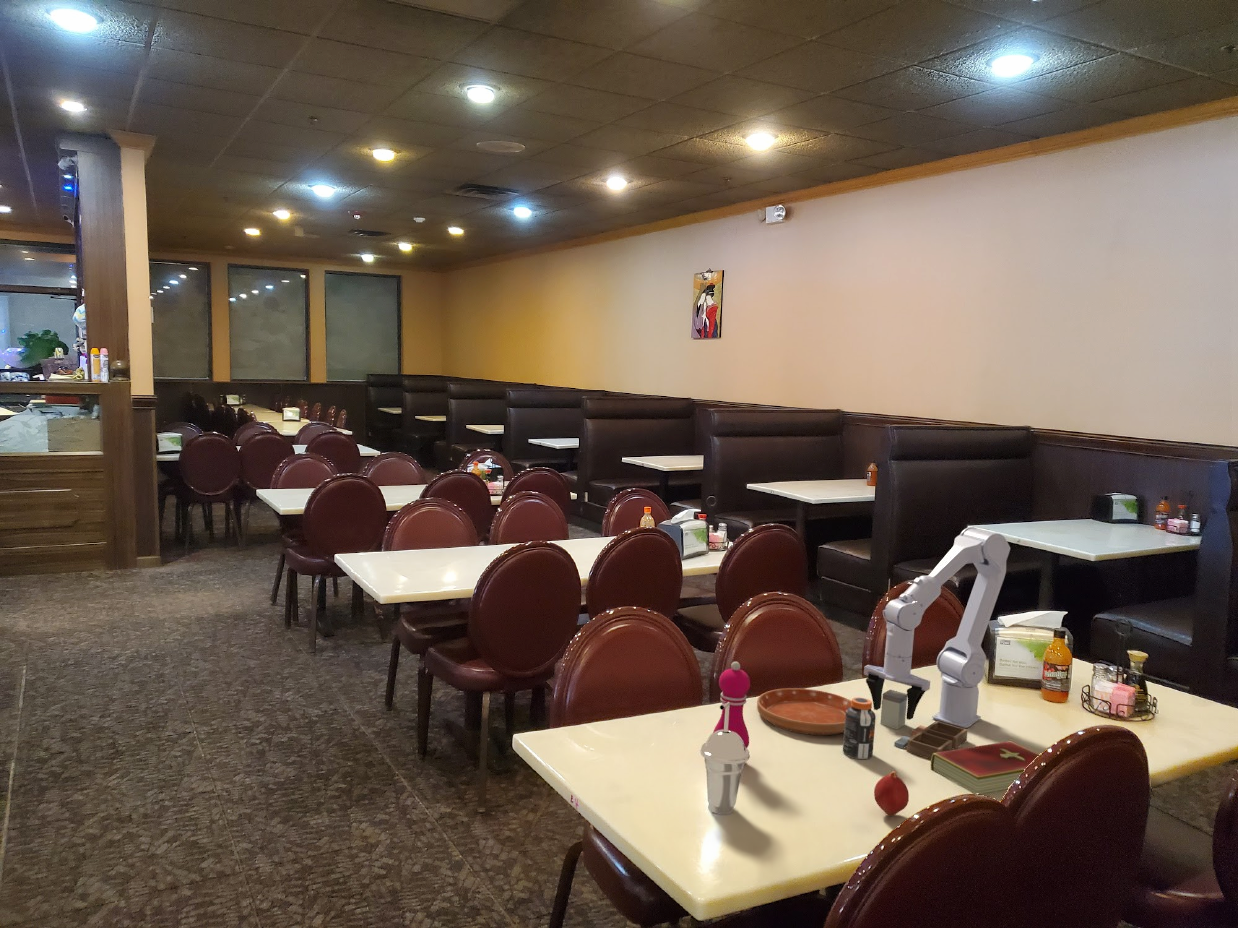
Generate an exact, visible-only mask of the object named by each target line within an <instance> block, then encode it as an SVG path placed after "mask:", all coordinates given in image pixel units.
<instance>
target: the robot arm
mask: <svg viewBox="0 0 1238 928" xmlns="http://www.w3.org/2000/svg"><path fill="white" fill-rule="evenodd" d="M1010 551H1011V547H1010V544H1009V542H1008V541H1007V539H1006V538H1005V536H1004V535H1003V534H1001V533H996V532H990V531H987V530H982V529H978V528H976V527H974V526H973V527H972V526H969V527H966V528H964V529H963V530H962V531H961V532H960V534H959V535H957V536H956V537H955V538H954V542H953V546H952V547H951V549H949V550H948V551H947V553H946V554H945V555H944V557H943V558H941V560H940V561H939V562H938V564H937V565H936V566H935V567H934V568H933V570H932V571H931V572H930V573H929V574H928V575H920V576H919V577H916V578H915V579H914V580H913V583H912V584H911V585H910V586H909V587H908V588H907V589H906V590H905V591H904V592H903V593H901V594H900V595H899V597H898V598H895V599H891V600H890V601H889V602H887V604H886V606H885V607H884V609H883V610H882V617H883V618H884V621H885V622H886V626H885V628H886V638H885V649H884V650H885V651H884V660H883V661H884V662H883V663H884V664H883V667H882V666H876V665H871V664H867V665H865V666H864V670H863V675H864V676H867V678H865V683H866V685H867V686H868V689H869V692H870V695H871V699H872V700H871V701H872V706H873V710H874V711H878V710H880V709H881V708H882V697H883V690H884V684H885V680H887V681H889V682H890V681H891V682H895V683H898V684H902V685H905V686H909V688H908V689H906V694H907V706H906V720H909V721H911V720H912V719H913V718H914V715H915V712H916V709H917V707H918V705H919V703H920V700H921V699H922V697H923V696H924V694H925V693H926V692H927V691H929V690H930V689H931V687H930V686H931V680H929V679H926V678H923V677H920V676H917V675H915V674H913V673H911V671H912V659H913V649H914V648H913V647H914V636H915V628H917V627H918V626H919V625H920V624H921V623H922V618H923V615H924V614H925V611H926V609H928V607H930V606H931V605H932V604H933V602H934V601H936V599H937V598H938V597H939V596H940V595H941V593H942V589H941V588H942V587H941V586H943V585H944V584H945V583H946V582H947V581H948V580H949V579H951V578H952V577H953V576H954V575H955V574H957V572H958V571H959V570H961V569H962V568H963V567H964V566H965V565H966V564H973V565H974V567H975V569H976V570H977V576H976V578H975V581H974V584H973V587H972V589H971V593H970V595H969V598H968V601H967V605H966V607H965V610H964V613H963V615H962V618H961V621H960V624H959V627H958V630H957V632H956V636H954V637H952V638H950V639H949V640H948V641H946V643H945V645H944V647H943V648H942V650H941V651H939V653H938V655H937V658H936V667H937V669H938V671H939V672H940V678H941V688H940V689H941V690H940V699H939V709H938V710H939V712H937V713H935V714H934V715H933V716H932V719H933V720H936V721H939V722H943V723H946V724H950V725H953V726H957V727H960V728H964V729H968V728H970V727H971V726H972V725H973V724H975V723H976V722H978V721H979V720H980V719H982V716H980V715H978V705H979V693H980V691H979V687H978V686H979V685H978V684H980V683H981V682H982V680H983V679H984V677H985V663H986V660H987V655H986V653H985V652H984V650H983V648H982V644H983V643H982V642H983V640H984V636H985V633H986V631H987V628H988V626H989V622H990V619H991V616H992V614H993V611H994V608H995V605H996V603H997V600H998V596H999V594H1000V591H1001V588H1002V586H1003V583H1004V580H1005V576H1006V574H1007V561H1008V557H1009V554H1010Z"/></svg>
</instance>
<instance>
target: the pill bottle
mask: <svg viewBox="0 0 1238 928" xmlns="http://www.w3.org/2000/svg"><path fill="white" fill-rule="evenodd" d="M851 701H852V702H851V706H852V707H850V708H848V709H847V710H846V716H845V727H844V732H843V739H842V752H843V753H844V755H845V756H848V757H850V758H853V759H857V760H867V759H870V758H872V757H873V754H874V753H873V752H874V742H875V741H874V739H875V729H876V719H877V717H876V714H875V712H874V711H873V710H872V709H873V707H872V706H873V701H872V700H871V699H868V698H865V697H859V696H858V697H853V698H852V699H851Z"/></svg>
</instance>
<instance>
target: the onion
mask: <svg viewBox="0 0 1238 928" xmlns="http://www.w3.org/2000/svg"><path fill="white" fill-rule="evenodd" d="M873 795H874V801H875V803H876V804H877V806H878V807H879V808H880V810H882V811H883V812H884V813H885V814H886V815H887V816H888V815H889V816H890V817H892V816H895V815H896V814H898V813H900V812H901V811H904V809H906V807H907V806H908V804H909V802H910V801H909V799H910V798H909V797H910V795H909V789H908V787H907V785H906V783H905V782H904V781H903V780H902V778H900V777H899V776H898V775H897V772H896V771H891V772H890V773H889V774H887V775H884V776H883V777H882V778H880V779H879V780H878V781H877V782H876V784H875V787H874V791H873ZM889 816H888V817H889Z"/></svg>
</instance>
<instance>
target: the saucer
mask: <svg viewBox="0 0 1238 928" xmlns="http://www.w3.org/2000/svg"><path fill="white" fill-rule="evenodd" d="M756 701H757V702H756V708H757V709H756V710H757V712H758V713H759V714H760V716H761V717H762V718H764V719H765V720H767V721H768V722H770V723H771V724H772V725H774V726H776V727H778V728H781V729H784V730H786V731H790V732H794V733H798V734H805V735H813V736H827V735H828V736H829V735H838V734H841V733H844V727H845V716H846V710H847V709H848V708H850V707H852V706H851V702H852V699H848V698H847V697H845V696H844V697H843V696H841V695H839V694H835V693H832V692H828V691H823V690H819V689H817V690H816V689H810V688H796V687H793V688H791V687H789V688H778V689H773V690H769V691H765V692H764V693H762V694H760V695H759V696H758V698H757V700H756Z"/></svg>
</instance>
